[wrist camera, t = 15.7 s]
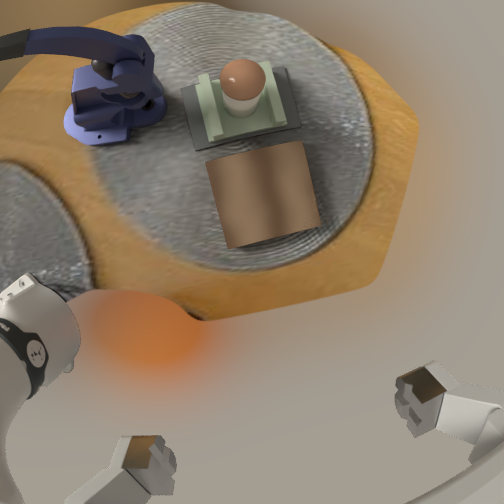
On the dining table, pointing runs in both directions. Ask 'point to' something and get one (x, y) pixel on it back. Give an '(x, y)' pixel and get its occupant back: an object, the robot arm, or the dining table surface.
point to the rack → (228, 126)
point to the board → (263, 193)
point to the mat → (203, 142)
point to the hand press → (99, 80)
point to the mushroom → (242, 87)
